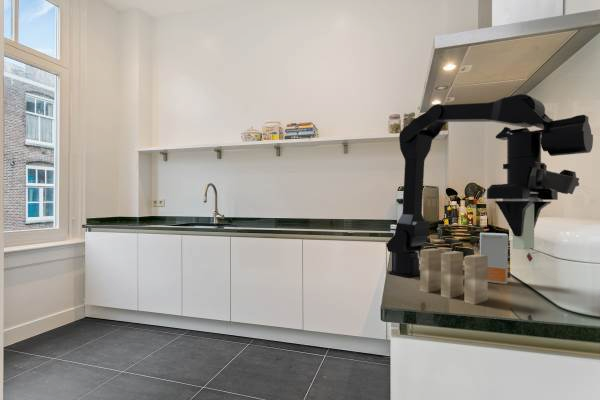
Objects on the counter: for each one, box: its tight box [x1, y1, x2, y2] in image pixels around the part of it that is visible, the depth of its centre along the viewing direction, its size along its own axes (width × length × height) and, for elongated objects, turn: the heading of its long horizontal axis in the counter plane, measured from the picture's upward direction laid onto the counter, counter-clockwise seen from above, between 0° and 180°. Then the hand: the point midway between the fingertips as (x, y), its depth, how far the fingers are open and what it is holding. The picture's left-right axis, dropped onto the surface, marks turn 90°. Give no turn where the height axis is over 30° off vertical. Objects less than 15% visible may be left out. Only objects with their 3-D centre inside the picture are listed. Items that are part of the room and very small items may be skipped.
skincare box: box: [479, 232, 509, 285], centre depth 82 cm, size 6×4×12 cm
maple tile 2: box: [440, 250, 464, 299], centre depth 70 cm, size 2×5×9 cm, turn 125°
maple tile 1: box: [419, 247, 443, 293], centre depth 74 cm, size 2×5×9 cm, turn 125°
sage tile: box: [512, 204, 535, 250], centre depth 67 cm, size 2×5×9 cm, turn 125°
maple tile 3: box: [463, 253, 488, 305], centre depth 66 cm, size 2×5×9 cm, turn 125°
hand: (523, 235), depth 67 cm, fingers closed on sage tile, 5 cm apart
